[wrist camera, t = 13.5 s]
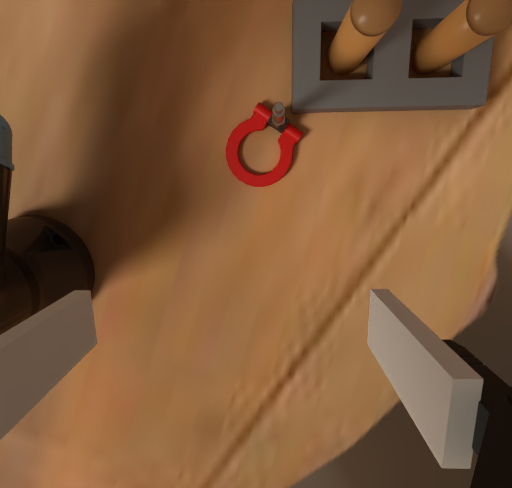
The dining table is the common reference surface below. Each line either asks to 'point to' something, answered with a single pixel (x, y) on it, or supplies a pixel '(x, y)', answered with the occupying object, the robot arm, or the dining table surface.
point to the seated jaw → (460, 33)
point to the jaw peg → (360, 32)
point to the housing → (383, 64)
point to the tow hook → (258, 124)
